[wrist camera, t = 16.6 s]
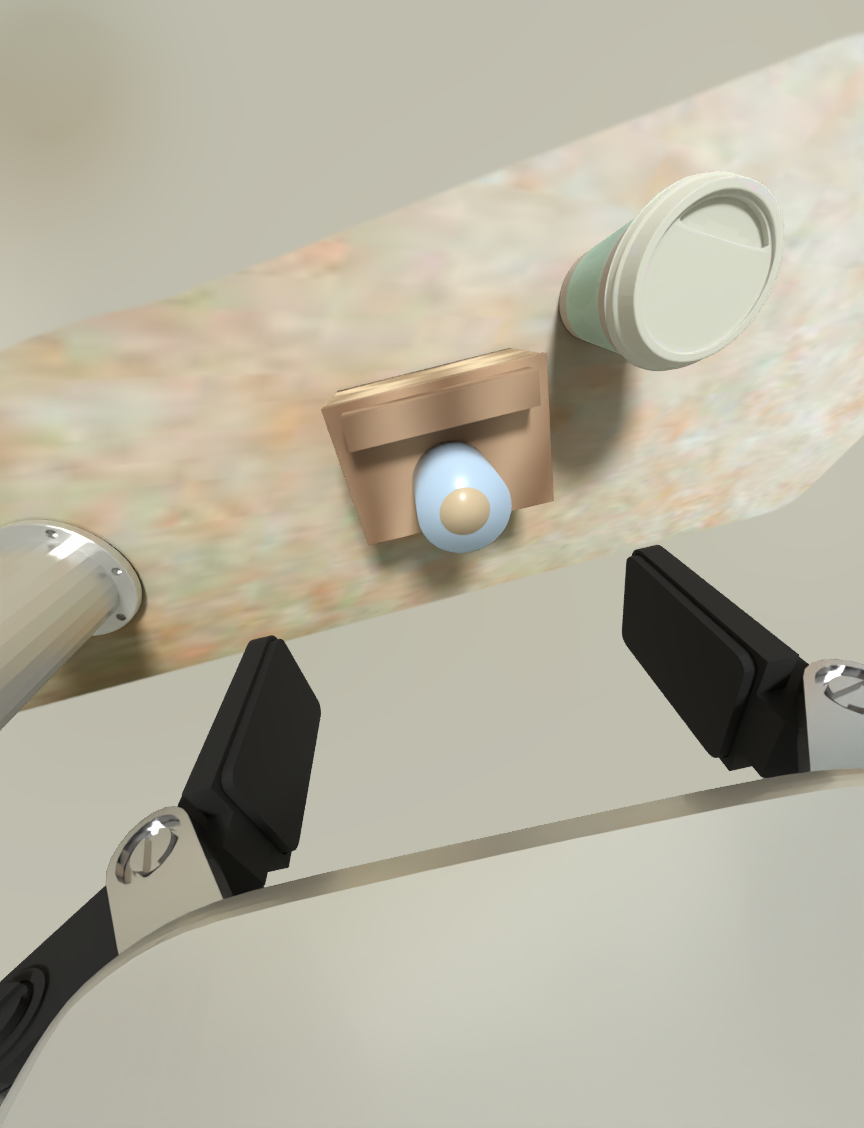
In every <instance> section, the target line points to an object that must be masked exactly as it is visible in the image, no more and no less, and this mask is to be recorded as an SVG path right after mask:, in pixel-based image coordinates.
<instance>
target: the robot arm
mask: <svg viewBox="0 0 864 1128" xmlns="http://www.w3.org/2000/svg"><path fill="white" fill-rule="evenodd" d="M624 593H625V594H624V607H623V623H622V636H623V640H624V642H625V644H626V645H627V647H628V648H629V650H630V651H631V652H632V653H633V655H634V656H635V658H636V659H637V660H638V661H639V663H640V664H641V665H642V667H643V668H644V669H645V671H646V672H647V673H648V675H649V676H650V677H651V679H652V680H653V681H654V683H655V684H656V685H657V686H658V688H659V689H660V690H661V692H662V693H663V694H664V696H665V697H666V698H667V700H668V701H669V702H670V704H671V705H672V706H673V707H674V709H675V710H676V712H677V713H678V714H679V716H680V717H681V718H682V720H683V721H684V722H685V723H686V725H687V726H688V727H689V729H690V730H691V731H692V733H693V734H694V735H695V737H696V738H697V739H698V740H699V742H700V743H701V745H702V746H703V747H704V749H705V750H706V751H707V752H708V753H709V754H710V755H711V756H712V757H714V758H718V757H719V758H720V760H721V761H722V762H723V764H725V766H726V767H727V769H728V770H729V771H732V770H737V769H741V768H746V767H750V766H753V768H754V769H755V770H756V771H757V772H758V773H759V775H760V776H761V777H763V779H762V780H756V781H751V782H746V783H741V784H736V785H730V786H725V787H720V788H715V789H710V790H705V791H700V792H695V793H690V794H685V795H680V796H676V797H671V798H666V799H662V800H657V801H652V802H647V803H643V804H638V805H633V806H629V807H624V808H619V809H614V810H610V811H605V812H600V813H596V814H591V815H587V816H582V817H577V818H572V819H568V820H563V821H558V822H554V823H549V824H545V825H540V826H536V827H531V828H526V829H522V830H517V831H512V832H508V833H503V834H499V835H494V836H489V837H485V838H480V839H476V840H471V841H467V842H462V843H457V844H453V845H448V846H444V847H440V848H435V849H430V850H426V851H422V852H417V853H413V854H408V855H403V856H399V857H394V858H391V859H386V860H381V861H377V862H372V863H368V864H363V865H359V866H354V867H350V868H345V869H341V870H337V871H332V872H327V873H323V874H319V875H315V876H311V877H307V878H302V879H298V880H294V881H290V882H286V883H282V884H278V885H274V886H270V887H265V888H264V885H265V882H266V877H267V873H268V872H270V871H275V870H279V869H284V868H288V867H289V862H290V857H291V852H292V851H294V850H296V848H297V846H298V843H299V839H300V834H301V828H302V821H303V816H304V810H305V804H306V798H307V792H308V787H309V781H310V775H311V769H312V763H313V757H314V751H315V746H316V740H317V734H318V728H319V722H320V716H321V709H320V704H319V702H318V700H317V698H316V696H315V694H314V693H313V691H312V689H311V688H310V686H309V684H308V682H307V680H306V679H305V677H304V675H303V673H302V672H301V670H300V668H299V666H298V665H297V663H296V661H295V659H294V658H293V656H292V654H291V652H290V651H289V649H288V647H287V645H286V644H285V642H284V641H283V640H282V639H277V638H276V637H275V636H267V637H263V638H258V639H254V640H251V641H250V642H249V643H248V645H247V647H246V650H245V652H244V654H243V657H242V659H241V661H240V663H239V666H238V668H237V670H236V673H235V675H234V677H233V679H232V682H231V684H230V686H229V688H228V691H227V693H226V695H225V697H224V700H223V702H222V704H221V707H220V709H219V711H218V713H217V716H216V718H215V720H214V722H213V725H212V727H211V729H210V731H209V734H208V736H207V738H206V740H205V743H204V745H203V747H202V750H201V752H200V754H199V756H198V759H197V761H196V763H195V765H194V768H193V770H192V772H191V775H190V777H189V779H188V781H187V784H186V786H185V788H184V791H183V793H182V797H181V799H180V802H179V804H178V806H177V807H176V806H173V807H165V808H163V809H160V810H158V811H156V812H154V813H152V814H150V815H149V816H147V817H146V818H144V819H143V820H142V821H140V822H139V823H138V824H137V825H136V826H135V827H134V828H133V829H132V830H131V831H130V832H129V833H128V834H127V835H126V836H125V838H124V839H123V840H122V841H121V843H120V844H119V846H118V847H117V849H116V851H115V852H114V854H113V856H112V857H111V860H110V863H109V865H108V868H107V871H106V886H105V887H103V888H102V889H101V890H100V891H99V892H98V893H97V894H96V895H95V896H94V897H93V898H91V899H90V900H89V901H88V902H87V903H86V904H85V905H84V906H83V907H82V908H80V909H79V910H78V911H77V912H76V913H75V914H74V915H73V916H72V917H71V918H69V919H68V920H67V921H66V922H65V923H64V924H63V925H62V926H61V927H60V928H59V929H58V930H56V931H55V932H54V933H53V934H52V935H51V936H50V937H49V938H48V939H46V940H45V941H44V942H43V943H42V944H41V945H40V946H39V947H38V948H37V949H36V950H34V951H33V952H32V953H31V954H30V955H29V956H28V957H27V958H26V959H25V960H23V961H22V962H21V963H20V964H19V965H18V966H17V967H16V968H15V969H14V970H13V971H12V972H10V973H9V974H8V975H7V976H6V977H5V978H4V979H3V980H2V981H1V982H0V1128H864V665H863V664H860V663H857V662H853V661H846V660H839V659H829V660H820V661H817V662H813V663H811V664H810V665H809V664H808V663H806V662H805V661H804V660H803V659H801V658H800V657H799V654H797V653H796V652H795V651H793V650H792V649H791V648H790V647H789V646H787V645H786V644H785V643H783V642H782V641H781V640H780V639H778V638H777V637H776V636H775V635H773V634H772V633H770V631H768V630H767V629H765V628H764V627H763V626H762V625H761V624H759V623H758V622H757V621H756V620H754V619H753V618H752V617H751V616H749V615H748V614H747V613H745V612H744V611H743V610H742V609H740V608H739V607H738V606H737V605H735V604H734V603H733V602H731V601H730V600H729V599H728V598H726V597H725V596H724V595H723V594H721V593H720V592H719V591H718V590H716V589H715V588H714V587H713V586H711V585H710V584H709V583H707V582H706V581H705V580H704V579H702V578H701V577H700V576H699V575H697V574H696V573H695V572H694V571H692V570H691V569H690V568H688V567H687V566H686V565H685V564H683V563H682V562H681V561H680V560H678V559H677V558H676V557H674V556H673V555H672V554H671V553H669V552H668V551H667V550H666V549H664V548H663V547H662V546H660V545H655V546H650V547H646V548H641V549H637V550H635V551H634V552H633V553H632V556H631V557H629V558H628V559H627V562H626V577H625V592H624ZM141 602H142V589H141V584H140V581H139V579H138V577H137V574H136V572H135V571H134V569H133V568H132V566H131V565H130V563H129V562H128V561H127V560H126V559H125V558H124V557H123V556H122V555H121V554H120V553H119V552H118V551H117V550H116V549H115V548H113V547H112V546H111V545H109V544H108V543H107V542H105V541H104V540H102V539H100V538H99V537H97V536H95V535H94V534H92V533H89V532H87V531H85V530H83V529H80V528H78V527H75V526H72V525H68V524H65V523H62V522H56V521H50V520H36V519H29V520H22V521H16V522H13V523H10V524H8V525H5V526H3V527H1V528H0V730H1V729H2V728H3V727H4V726H5V725H6V724H7V723H8V722H9V721H10V720H11V719H12V718H13V717H14V716H15V715H16V714H17V713H18V712H19V711H20V710H21V709H22V707H23V706H24V705H25V704H26V703H27V702H28V701H29V700H30V699H31V698H32V697H33V696H34V695H35V694H36V693H37V692H38V691H39V690H40V689H41V688H42V687H43V686H44V685H45V684H46V683H47V682H48V680H49V679H50V678H51V677H52V676H53V675H54V674H55V673H56V672H57V671H58V670H59V669H60V668H61V667H62V666H63V665H64V664H65V663H66V662H67V661H68V660H69V659H70V658H71V657H72V656H73V654H74V653H75V652H76V651H77V650H78V649H79V648H80V647H81V646H82V645H83V644H84V643H85V642H86V641H87V640H88V639H89V638H90V637H91V636H97V635H103V634H108V633H111V632H114V631H116V630H118V629H120V628H121V627H123V626H125V625H126V624H127V623H128V622H129V621H130V620H131V619H132V618H133V617H134V615H135V614H136V613H137V611H138V610H139V607H140V605H141Z"/></svg>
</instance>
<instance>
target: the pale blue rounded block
mask: <svg viewBox="0 0 864 1128" xmlns="http://www.w3.org/2000/svg"><path fill="white" fill-rule="evenodd" d="M412 486H413V492H414V498H415V504H416V510H417V516H418V522H419V525H420V528H421V530H422V532H423V534H424V535H425V537H426V538H427V539H428V540H429V541H430V542H431V543H432V544H434V545H435V546H437V547H438V548H440V549H442V550H445V551H448V552H453V553H468V552H473V551H476V550H479V549H481V548H484V547H485V546H487V545H489V544H490V543H492V542H493V541H494V540H495V539H496V538H498V536H499V535H500V534H501V533H502V532H503V530H504V529H505V527H506V525H507V523H508V521H509V518H510V514H511V507H512V505H511V496H510V493H509V490H508V488H507V486H506V484H505V483H504V481H503V480H502V479H501V477H500V476H499V475H498V473H497V472H496V471H495V469H494V468H493V467H492V465H491V464H490V463H489V462H488V460H487V459H486V458H485V456H484V455H483V454H482V453H481V452H480V451H479V450H478V449H477V448H476V447H474V446H473V445H471V444H469V443H466V442H463V441H456V440H452V441H444V442H441V443H438V444H436V445H434V446H432V447H431V448H429V449H428V450H427V451H426V452H424V454H423V455H422V456H421V457H420V458H419V460H418V462H417V463H416V465H415V468H414V471H413V477H412Z"/></svg>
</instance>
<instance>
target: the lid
mask: <svg viewBox="0 0 864 1128" xmlns="http://www.w3.org/2000/svg"><path fill="white" fill-rule="evenodd" d="M321 411H322V414H323V416H324V419H325V422H326V425H327V428H328V431H329V434H330V437H331V439H332V442H333V445H334V448H335V451H336V454H337V457H338V459H339V462H340V465H341V468H342V471H343V474H344V477H345V480H346V482H347V485H348V488H349V491H350V494H351V497H352V500H353V503H354V505H355V508H356V511H357V514H358V517H359V520H360V523H361V525H362V528H363V531H364V534H365V537H366V540H367V543H368V545H372V544H376V543H380V542H384V541H389V540H393V539H397V538H401V537H405V536H409V535H414V534H418V533H422V530H421V528H420V525H419V522H418V516H417V510H416V504H415V498H414V492H413V486H412V477H413V471H414V468H415V465H416V463H417V462H418V460H419V458H420V457H421V456H422V455H423V454H424V452H426V451H427V450H428V449H429V448H431V447H432V446H434V445H436V444H438V443H441V442H444V441H452V440H456V441H463V442H466V443H469V444H471V445H473V446H474V447H476V448H477V449H478V450H479V451H480V452H481V453H482V454H483V455H484V456H485V458H486V459H487V460H488V462H489V463H490V464H491V465H492V467H493V468H494V469H495V471H496V472H497V473H498V475H499V476H500V477H501V479H502V480H503V481H504V483H505V484H506V486H507V488H508V490H509V493H510V496H511V505H512V507H511V511H514V510H518V509H522V508H526V507H530V506H534V505H539V504H543V503H547V502H551V501H554V495H553V474H552V454H551V434H550V413H549V393H548V373H547V353H538V354H534V355H530V356H526V357H522V358H518V359H514V360H510V361H506V362H502V363H498V364H494V365H490V366H486V367H482V368H478V369H474V370H470V371H466V372H462V373H458V374H454V375H450V376H446V377H442V378H438V379H434V380H430V381H426V382H422V383H418V384H414V385H410V386H406V387H402V388H398V389H394V390H390V391H386V392H382V393H378V394H374V395H370V396H366V397H362V398H358V399H354V400H350V401H346V402H342V403H338V404H334V405H330V406H326V407H323V408H322V409H321Z"/></svg>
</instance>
